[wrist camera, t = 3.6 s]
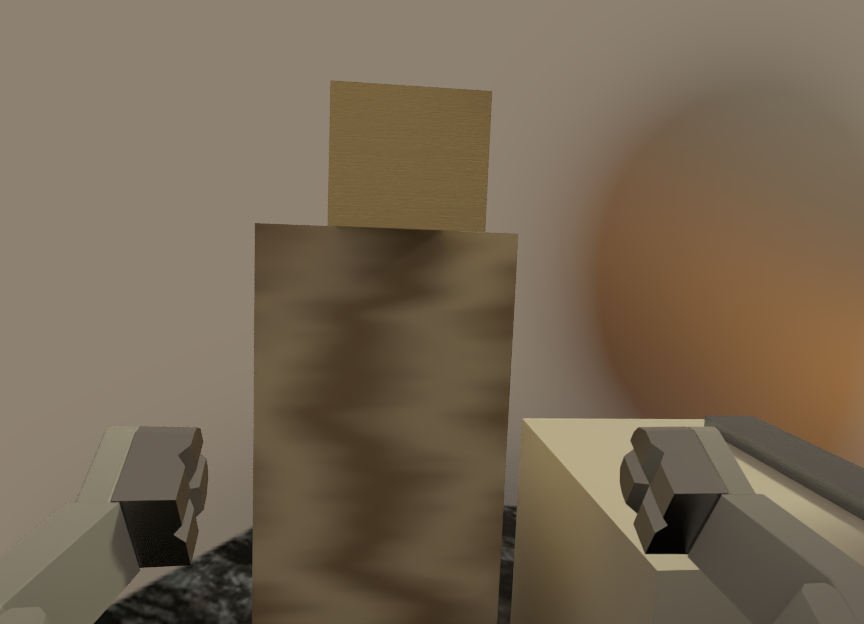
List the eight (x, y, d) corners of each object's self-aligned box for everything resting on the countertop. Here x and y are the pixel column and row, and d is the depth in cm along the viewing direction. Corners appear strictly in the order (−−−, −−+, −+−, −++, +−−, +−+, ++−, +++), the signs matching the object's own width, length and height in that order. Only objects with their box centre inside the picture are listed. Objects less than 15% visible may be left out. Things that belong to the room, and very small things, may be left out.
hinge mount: (717, 641, 43) (740, 407, 41) (969, 928, 26) (1030, 541, 24) (508, 649, 42) (523, 405, 40) (623, 962, 24) (659, 548, 22)
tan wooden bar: (411, 230, 39) (414, 169, 38) (484, 231, 17) (491, 91, 17) (342, 227, 38) (344, 165, 38) (327, 225, 16) (330, 80, 16)
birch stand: (443, 637, 43) (460, 232, 40) (485, 833, 29) (518, 233, 26) (285, 642, 41) (290, 225, 38) (250, 849, 28) (255, 223, 24)
